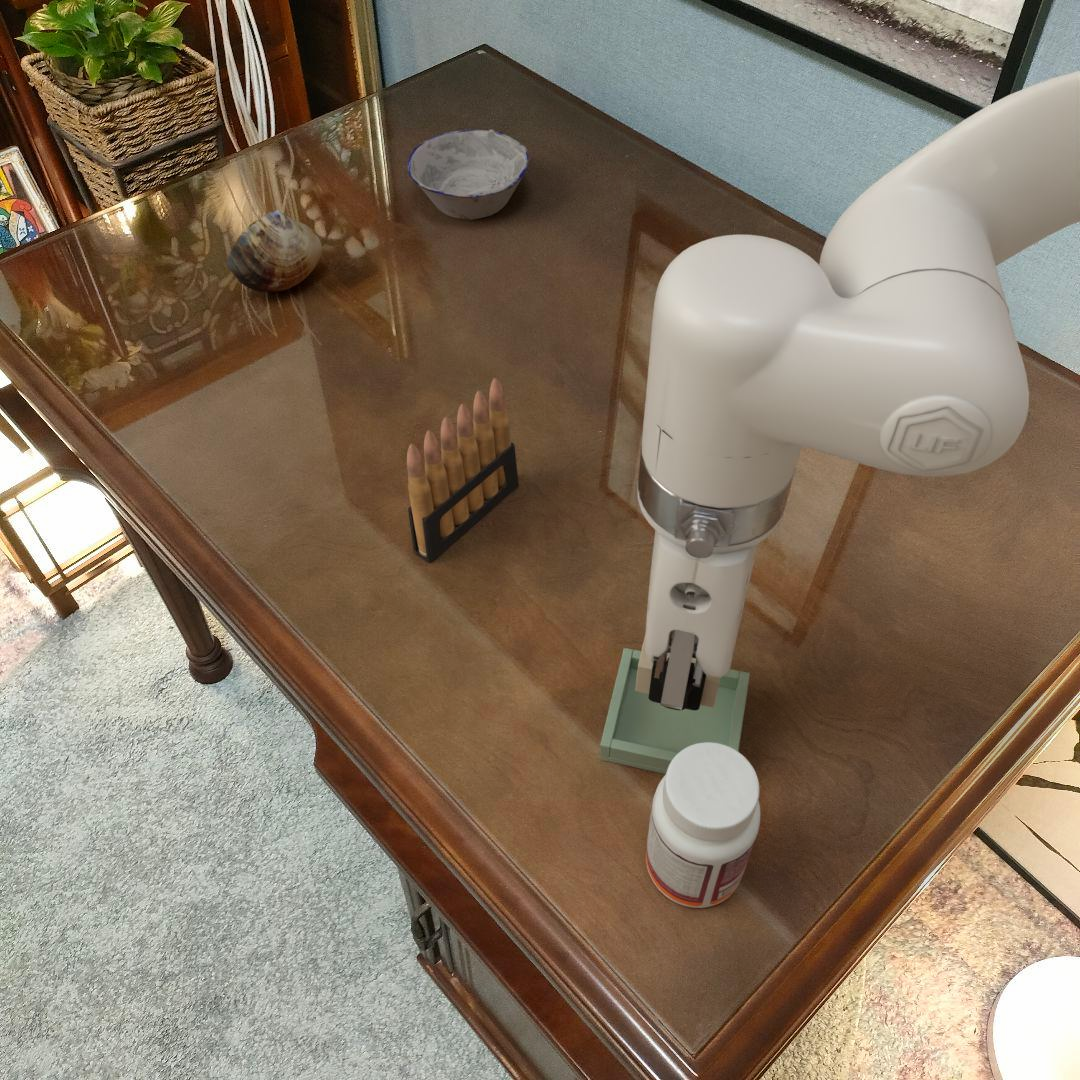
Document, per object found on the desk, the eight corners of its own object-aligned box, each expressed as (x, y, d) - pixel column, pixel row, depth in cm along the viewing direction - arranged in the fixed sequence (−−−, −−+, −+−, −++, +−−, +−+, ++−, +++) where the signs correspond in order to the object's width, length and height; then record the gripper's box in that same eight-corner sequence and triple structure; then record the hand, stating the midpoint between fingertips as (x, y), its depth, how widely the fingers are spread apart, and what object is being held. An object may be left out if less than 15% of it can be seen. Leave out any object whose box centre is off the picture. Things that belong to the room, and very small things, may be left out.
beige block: (722, 655, 66) (728, 629, 64) (713, 708, 64) (719, 683, 62) (646, 639, 67) (649, 613, 65) (635, 691, 65) (637, 666, 62)
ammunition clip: (429, 564, 80) (411, 457, 70) (413, 552, 81) (392, 445, 71) (519, 485, 85) (513, 376, 76) (502, 474, 86) (494, 366, 76)
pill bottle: (733, 813, 66) (758, 728, 58) (750, 908, 62) (780, 833, 54) (638, 819, 66) (649, 735, 57) (650, 914, 62) (664, 840, 54)
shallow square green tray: (746, 688, 72) (750, 672, 71) (730, 789, 67) (735, 774, 66) (622, 662, 74) (623, 647, 72) (599, 759, 69) (599, 745, 67)
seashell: (312, 255, 106) (296, 185, 99) (338, 282, 103) (324, 212, 96) (228, 289, 102) (206, 219, 96) (252, 318, 99) (231, 248, 93)
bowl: (421, 165, 116) (416, 125, 112) (534, 168, 115) (533, 127, 111) (403, 232, 108) (398, 191, 104) (524, 235, 107) (523, 194, 103)
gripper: (770, 626, 45) (720, 803, 60) (805, 378, 55) (755, 580, 70) (605, 594, 47) (594, 774, 61) (668, 357, 57) (646, 559, 71)
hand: (680, 669), depth 65 cm, fingers closed on beige block, 4 cm apart
